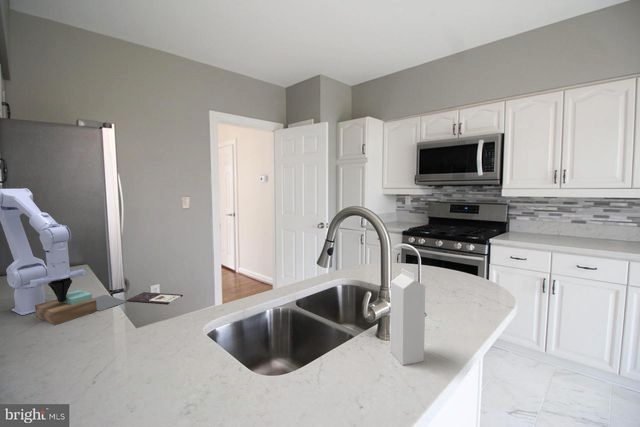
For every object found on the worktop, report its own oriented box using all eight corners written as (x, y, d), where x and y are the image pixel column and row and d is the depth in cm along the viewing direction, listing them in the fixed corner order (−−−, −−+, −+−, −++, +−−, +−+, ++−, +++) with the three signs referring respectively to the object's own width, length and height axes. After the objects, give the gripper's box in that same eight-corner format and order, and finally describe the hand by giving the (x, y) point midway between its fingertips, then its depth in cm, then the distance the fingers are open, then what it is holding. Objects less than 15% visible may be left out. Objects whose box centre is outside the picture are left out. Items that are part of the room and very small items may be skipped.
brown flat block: (36, 316, 103) (34, 305, 103) (77, 304, 114) (76, 294, 114) (54, 325, 97) (53, 312, 96) (97, 311, 107) (96, 300, 107)
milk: (402, 365, 72) (403, 275, 70) (389, 352, 78) (390, 268, 76) (424, 361, 74) (425, 273, 72) (410, 348, 80) (411, 266, 78)
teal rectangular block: (59, 300, 107) (59, 295, 107) (79, 295, 112) (79, 289, 112) (71, 305, 103) (71, 299, 102) (92, 299, 108) (91, 293, 108)
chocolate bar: (143, 292, 125) (182, 294, 121) (144, 294, 125) (182, 297, 121) (125, 300, 116) (167, 303, 112) (126, 302, 116) (167, 305, 113)
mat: (77, 303, 115) (77, 302, 115) (105, 295, 123) (105, 294, 123) (99, 311, 107) (99, 310, 107) (127, 302, 115) (127, 301, 115)
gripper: (35, 268, 94) (39, 311, 96) (88, 258, 107) (91, 296, 108) (25, 266, 98) (30, 307, 99) (78, 256, 110) (82, 293, 112)
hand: (61, 301), depth 104 cm, fingers closed
